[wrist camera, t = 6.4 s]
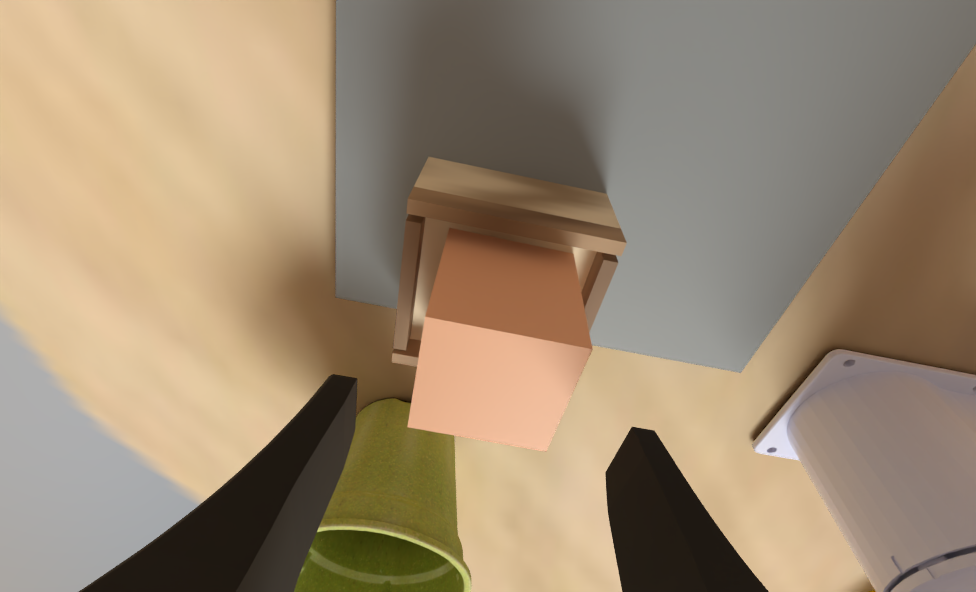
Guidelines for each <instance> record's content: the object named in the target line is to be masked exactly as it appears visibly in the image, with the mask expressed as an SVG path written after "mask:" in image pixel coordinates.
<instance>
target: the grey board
mask: <svg viewBox="0 0 976 592" xmlns="http://www.w3.org/2000/svg"><path fill="white" fill-rule="evenodd" d="M975 44H976V0H336V298H341V299H346V300H352V301H357V302H362V303H368V304H373V305H378V306H384V307H389V308H395V309H397V303H398V293H399V283H400V273H401V263H402V252H403V242H404V232H405V222H406V219H407V217H408V214H407V213H406V212H407V202H408V197H409V195H410V193H411V191H412V189H413V187H414V185H415V183H416V181H417V179H418V177H419V175H420V173H421V171H422V169H423V167H424V165H425V163H426V161H427V159H428V157H433V158H438V159H442V160H447V161H452V162H457V163H462V164H466V165H471V166H476V167H481V168H486V169H490V170H495V171H500V172H505V173H510V174H514V175H519V176H524V177H529V178H534V179H538V180H543V181H548V182H553V183H558V184H562V185H567V186H572V187H577V188H582V189H586V190H591V191H596V192H601V193H606V194H607V195H608V198H609V200H610V203H611V205H612V208H613V210H614V212H615V215H616V217H617V220H618V222H619V225H620V227H621V230H622V232H623V235H624V237H625V240H626V242H627V244H626V246H625V249H624V251H623V253H622V256H617V255H616V257H617V260H618V265H617V268H616V270H615V273H614V275H613V277H612V280H611V282H610V284H609V287H608V289H607V292H606V294H605V296H604V299H603V301H602V304H601V306H600V308H599V311H598V313H597V315H596V318H595V320H594V323H593V325H592V327H591V330H590V332H589V334H590V339H591V344H592V345H594V346H599V347H605V348H610V349H615V350H621V351H626V352H632V353H637V354H642V355H648V356H653V357H658V358H664V359H669V360H675V361H680V362H685V363H691V364H696V365H702V366H707V367H712V368H718V369H723V370H728V371H734V372H739V373H741V372H742V370H743V369H744V368H745V366H746V365H747V363H748V362H749V361H750V359H751V358H752V356H753V355H754V354H755V352H756V351H757V349H758V348H759V347H760V345H761V344H762V342H763V341H764V340H765V338H766V337H767V335H768V334H769V333H770V331H771V330H772V328H773V327H774V326H775V324H776V323H777V321H778V320H779V319H780V317H781V316H782V314H783V313H784V312H785V310H786V309H787V307H788V306H789V305H790V303H791V302H792V300H793V299H794V298H795V296H796V295H797V293H798V292H799V291H800V289H801V288H802V286H803V285H804V284H805V282H806V281H807V279H808V278H809V277H810V275H811V274H812V272H813V271H814V270H815V268H816V267H817V265H818V264H819V263H820V261H821V260H822V258H823V257H824V256H825V254H826V253H827V251H828V250H829V249H830V247H831V246H832V245H833V243H834V242H835V240H836V239H837V238H838V236H839V235H840V233H841V232H842V231H843V229H844V228H845V226H846V225H847V224H848V222H849V221H850V219H851V218H852V217H853V215H854V214H855V212H856V211H857V210H858V208H859V207H860V205H861V204H862V203H863V201H864V200H865V198H866V197H867V196H868V194H869V193H870V191H871V190H872V189H873V187H874V186H875V184H876V183H877V182H878V180H879V179H880V177H881V176H882V175H883V173H884V172H885V170H886V169H887V168H888V166H889V165H890V163H891V162H892V161H893V159H894V158H895V156H896V155H897V154H898V152H899V151H900V149H901V148H902V147H903V145H904V144H905V142H906V141H907V140H908V138H909V137H910V135H911V134H912V133H913V131H914V130H915V128H916V127H917V126H918V124H919V123H920V121H921V120H922V119H923V117H924V116H925V114H926V113H927V112H928V110H929V109H930V107H931V106H932V105H933V103H934V102H935V100H936V99H937V98H938V96H939V95H940V93H941V92H942V91H943V89H944V88H945V86H946V85H947V84H948V82H949V81H950V79H951V78H952V77H953V75H954V74H955V72H956V71H957V70H958V68H959V67H960V65H961V64H962V63H963V61H964V60H965V58H966V57H967V56H968V54H969V53H970V51H971V50H972V49H973V47H974V46H975Z"/></svg>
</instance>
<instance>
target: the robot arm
mask: <svg viewBox="0 0 976 592" xmlns="http://www.w3.org/2000/svg"><path fill="white" fill-rule="evenodd" d="M356 400H357V378H352V377H346V376H341V375H335V374H333V375H331V376H329V377H328V378H327V380H326V381H325V382H324V383H323V385H322V386H321V387H320V388H319V389H318V391H317V392H316V393H315V394H314V395H313V397H312V398H311V399H310V400H309V401H308V402H307V404H306V405H305V406H304V407H303V408H302V409H301V410H300V411H299V412H298V414H297V415H296V416H295V417H294V418H293V419H292V420H291V421H290V422H289V423H288V424H287V425H286V426H285V427H284V428H283V429H282V430H281V431H280V432H279V433H278V435H277V436H276V437H275V438H274V439H273V440H272V441H271V442H270V443H269V444H268V445H267V446H266V447H265V448H263V449H262V450H261V451H260V452H259V453H258V454H257V455H256V456H255V457H254V458H253V459H252V460H251V461H250V462H249V463H248V464H246V465H245V466H244V467H243V468H242V469H241V470H240V471H239V472H238V473H237V474H236V475H235V476H233V477H232V478H231V479H230V480H229V481H228V482H227V483H225V484H224V485H223V486H222V487H221V488H220V489H218V490H217V491H216V492H215V493H214V494H212V495H211V496H210V497H209V498H208V499H206V500H205V501H204V502H203V503H202V504H200V505H199V506H198V507H197V508H195V509H194V510H193V511H192V512H190V513H189V514H188V515H186V516H185V517H184V518H182V519H181V520H180V521H179V522H177V523H176V524H175V525H173V526H172V527H171V528H170V529H168V530H167V531H166V532H164V533H163V534H162V535H160V536H159V537H157V538H156V539H155V540H153V541H152V542H151V543H149V544H148V545H146V546H145V547H144V548H142V549H141V550H140V551H138V552H137V553H135V554H134V555H132V556H131V557H130V558H128V559H126V560H125V561H123V562H122V563H120V564H119V565H118V566H116V567H115V568H113V569H112V570H110V571H109V572H107V573H106V574H104V575H103V576H101V577H100V578H98V579H97V580H95V581H94V582H93V583H91V584H90V585H88V586H87V587H85V588H84V589H82V590H80V591H79V592H294V590H295V587H296V584H297V581H298V578H299V575H300V572H301V570H302V567H303V564H304V562H305V559H306V556H307V554H308V552H309V549H310V547H311V545H312V542H313V540H314V538H315V535H316V533H317V531H318V528H319V526H320V523H321V521H322V519H323V516H324V514H325V512H326V509H327V507H328V505H329V502H330V500H331V498H332V495H333V493H334V490H335V488H336V486H337V483H338V481H339V479H340V476H341V474H342V471H343V469H344V466H345V462H346V459H347V456H348V453H349V450H350V446H351V443H352V439H353V436H354V433H355V424H356ZM752 447H753V449H754V451H755V452H757V453H760V454H765V455H771V456H777V457H783V458H788V459H794V460H800V462H801V463H802V465H803V467H804V469H805V470H806V472H807V474H808V476H809V477H810V479H811V481H812V482H813V484H814V486H815V488H816V489H817V491H818V493H819V494H820V496H821V498H822V500H823V501H824V503H825V505H826V507H827V508H828V510H829V512H830V513H831V515H832V517H833V519H834V520H835V522H836V524H837V526H838V527H839V529H840V531H841V532H842V534H843V536H844V538H845V539H846V541H847V543H848V545H849V546H850V548H851V550H852V551H853V553H854V555H855V557H856V558H857V560H858V562H859V563H860V565H861V567H862V569H863V570H864V572H865V574H866V576H867V577H868V579H869V581H870V582H871V584H872V586H873V588H874V589H875V591H876V592H976V375H973V374H968V373H963V372H958V371H952V370H947V369H942V368H937V367H932V366H926V365H921V364H916V363H911V362H906V361H900V360H895V359H890V358H885V357H880V356H874V355H869V354H864V353H859V352H854V351H848V350H843V349H836V350H832V351H830V352H829V353H828V354H827V355H826V356H825V357H824V358H823V359H822V361H821V362H820V363H819V364H818V365H817V367H816V368H815V369H814V370H813V371H812V373H811V374H810V375H809V376H808V377H807V379H806V380H805V381H804V382H803V383H802V384H801V386H800V387H799V388H798V389H797V390H796V392H795V393H794V394H793V395H792V396H791V398H790V399H789V400H788V401H787V402H786V404H785V405H784V406H783V407H782V408H781V409H780V411H779V412H778V413H777V414H776V415H775V417H774V418H773V419H772V420H771V421H770V423H769V424H768V425H767V426H766V427H765V429H764V430H763V431H762V432H761V433H760V435H759V436H758V437H757V438H756V439H755V440H754V442H753V443H752ZM606 491H607V506H608V515H609V521H610V527H611V532H612V538H613V543H614V549H615V554H616V559H617V565H618V570H619V575H620V581H621V586H622V592H768V590H767V589H766V588H765V587H764V586H763V584H762V583H761V582H760V581H759V580H758V578H757V577H756V576H755V575H754V574H753V572H752V571H751V570H750V569H749V567H748V566H747V565H746V563H745V562H744V561H743V560H742V558H741V557H740V556H739V554H738V553H737V552H736V550H735V549H734V548H733V546H732V545H731V544H730V542H729V541H728V540H727V538H726V537H725V536H724V534H723V533H722V532H721V530H720V529H719V527H718V526H717V525H716V523H715V522H714V520H713V519H712V518H711V516H710V515H709V513H708V512H707V510H706V509H705V507H704V506H703V505H702V503H701V502H700V500H699V499H698V497H697V496H696V494H695V493H694V491H693V490H692V488H691V487H690V485H689V484H688V482H687V481H686V479H685V478H684V476H683V474H682V473H681V471H680V470H679V468H678V467H677V465H676V464H675V462H674V460H673V459H672V457H671V456H670V454H669V453H668V451H667V450H666V448H665V446H664V445H663V443H662V442H661V440H660V439H659V437H658V436H657V434H656V433H655V431H653V430H647V429H642V428H636V427H632V428H631V429H630V431H629V433H628V435H627V436H626V438H625V440H624V441H623V443H622V445H621V447H620V448H619V450H618V452H617V454H616V455H615V457H614V459H613V460H612V462H611V464H610V466H609V467H608V469H607V471H606Z"/></svg>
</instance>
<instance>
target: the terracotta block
mask: <svg viewBox="0 0 976 592" xmlns="http://www.w3.org/2000/svg"><path fill="white" fill-rule="evenodd" d="M591 352H592V344H591V339H590V334H589V329H588V324H587V319H586V314H585V309H584V304H583V299H582V294H581V289H580V284H579V279H578V274H577V269H576V263H575V258H574V254H573V253H568V252H563V251H558V250H553V249H549V248H544V247H539V246H534V245H530V244H525V243H520V242H515V241H511V240H506V239H501V238H496V237H491V236H487V235H482V234H477V233H472V232H468V231H463V230H458V229H453V228H449V231H448V234H447V238H446V242H445V245H444V249H443V253H442V256H441V260H440V264H439V268H438V271H437V275H436V279H435V282H434V286H433V290H432V293H431V297H430V301H429V304H428V308H427V312H426V315H425V321H424V327H423V333H422V339H421V345H420V352H419V358H418V364H417V370H416V377H415V383H414V389H413V395H412V402H411V408H410V414H409V420H408V426H407V427H409V428H415V429H421V430H426V431H432V432H437V433H443V434H449V435H454V436H460V437H466V438H471V439H477V440H483V441H488V442H494V443H500V444H505V445H511V446H517V447H522V448H528V449H534V450H539V451H545V452H546V451H547V449H548V447H549V444H550V442H551V440H552V438H553V436H554V433H555V431H556V429H557V427H558V424H559V422H560V420H561V418H562V416H563V413H564V411H565V409H566V407H567V405H568V402H569V400H570V398H571V396H572V394H573V391H574V389H575V387H576V385H577V382H578V380H579V378H580V376H581V374H582V371H583V369H584V367H585V365H586V363H587V360H588V358H589V356H590V354H591Z"/></svg>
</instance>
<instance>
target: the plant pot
mask: <svg viewBox="0 0 976 592" xmlns="http://www.w3.org/2000/svg"><path fill="white" fill-rule="evenodd" d="M410 408H411V403H407V402H403V401H400V400H398V399H396V398H392V399H385V400H380V401H377V402H374V403H372V404H370V405H368V406H367V407H365V408H364V409H363V410H362V411H360V413H359V414H358V415H357V417H356V424H355V433H354V436H353V439H352V443H351V446H350V450H349V453H348V456H347V459H346V462H345V466H344V469H343V471H342V474H341V476H340V479H339V481H338V483H337V486H336V488H335V490H334V493H333V495H332V498H331V500H330V502H329V505H328V507H327V509H326V512H325V514H324V516H323V519H322V521H321V523H320V526H319V528H318V531H317V533H316V535H315V538H314V540H313V542H312V545H311V547H310V549H309V552H308V554H307V556H306V559H305V562H304V564H303V567H302V570H301V572H300V575H299V578H298V581H297V584H296V587H295V590H294V592H471V587H472V585H471V575H470V571H469V569H468V567H467V565H466V564H465V562H464V561H463V550H462V545H461V542H460V539H459V537H458V532H457V508H456V480H455V445H454V435H449V434H443V433H437V432H432V431H426V430H421V429H415V428H409V427H407V426H408V420H409V414H410Z"/></svg>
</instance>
